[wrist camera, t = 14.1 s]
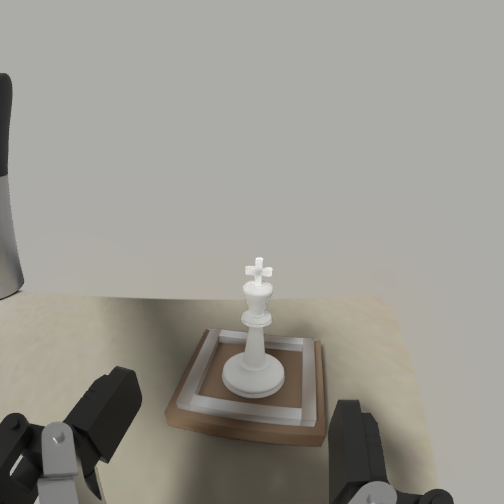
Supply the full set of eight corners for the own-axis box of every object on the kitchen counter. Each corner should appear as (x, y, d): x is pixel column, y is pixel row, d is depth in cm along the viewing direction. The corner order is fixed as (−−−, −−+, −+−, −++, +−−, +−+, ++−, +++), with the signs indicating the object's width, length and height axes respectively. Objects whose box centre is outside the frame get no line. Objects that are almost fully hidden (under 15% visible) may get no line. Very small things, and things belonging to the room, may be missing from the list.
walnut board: (167, 424, 18) (162, 406, 17) (206, 341, 28) (205, 322, 27) (320, 446, 17) (327, 428, 16) (317, 353, 27) (321, 334, 26)
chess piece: (228, 354, 24) (227, 243, 21) (285, 359, 24) (297, 248, 20) (216, 394, 20) (211, 271, 16) (283, 401, 19) (300, 278, 16)
